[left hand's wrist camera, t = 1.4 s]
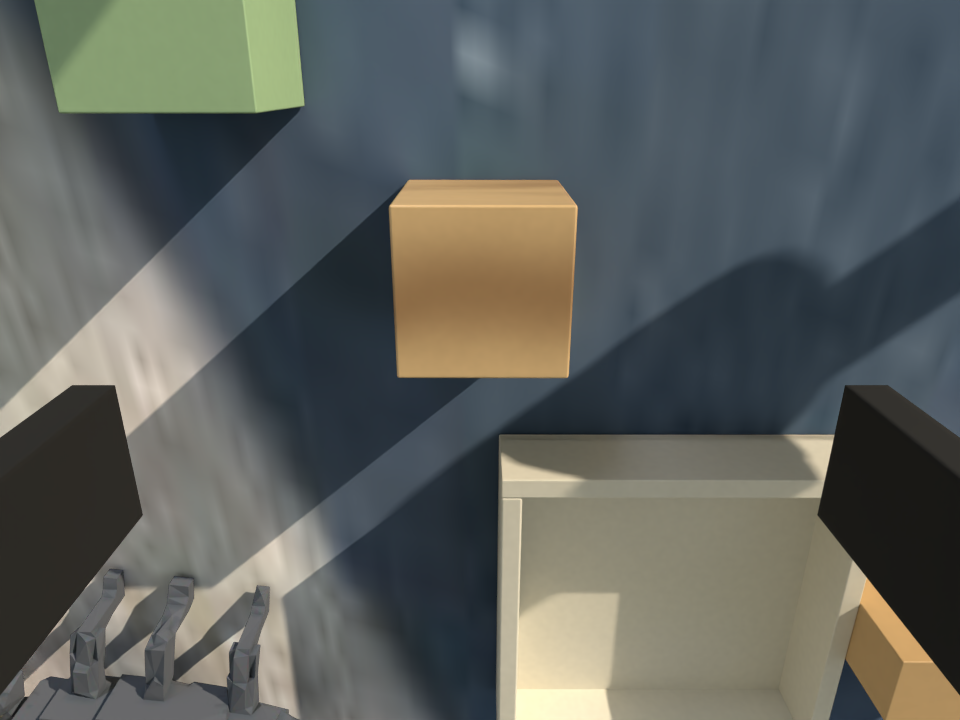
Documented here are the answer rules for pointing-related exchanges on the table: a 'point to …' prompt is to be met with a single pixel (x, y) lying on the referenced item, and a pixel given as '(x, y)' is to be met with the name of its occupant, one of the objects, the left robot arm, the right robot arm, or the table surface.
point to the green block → (172, 55)
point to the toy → (146, 672)
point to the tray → (687, 586)
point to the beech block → (483, 278)
